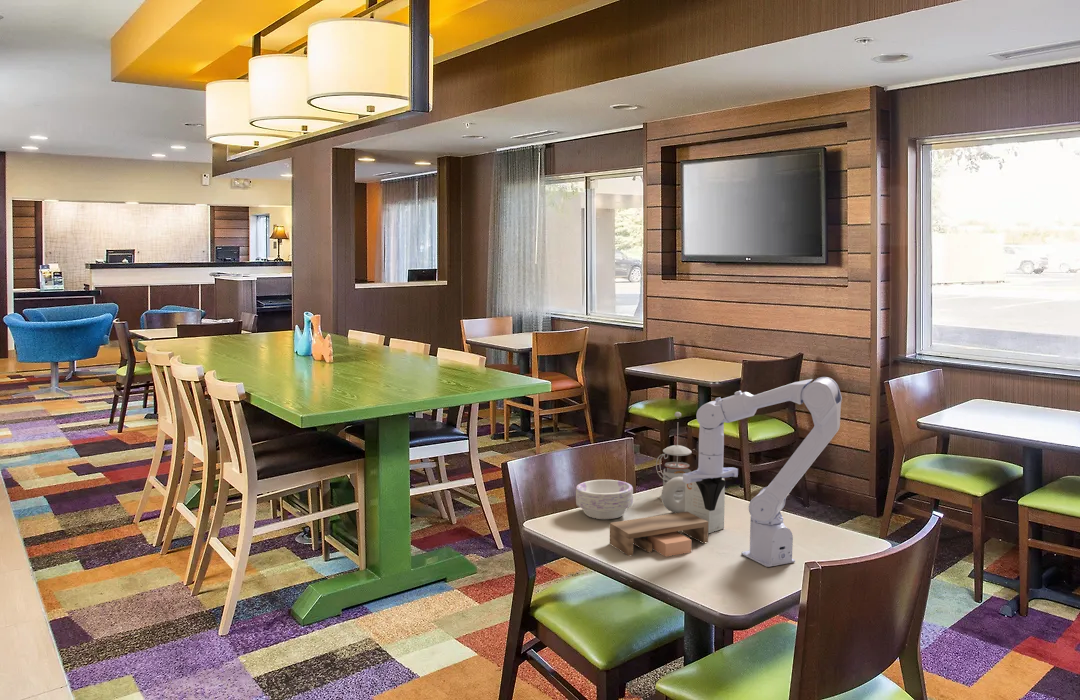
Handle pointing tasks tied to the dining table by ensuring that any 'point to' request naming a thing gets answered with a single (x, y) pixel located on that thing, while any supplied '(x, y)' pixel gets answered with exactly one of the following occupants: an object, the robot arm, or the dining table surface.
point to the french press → (675, 464)
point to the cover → (670, 543)
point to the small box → (697, 508)
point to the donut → (669, 495)
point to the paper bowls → (604, 498)
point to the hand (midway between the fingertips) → (709, 509)
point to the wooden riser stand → (655, 530)
